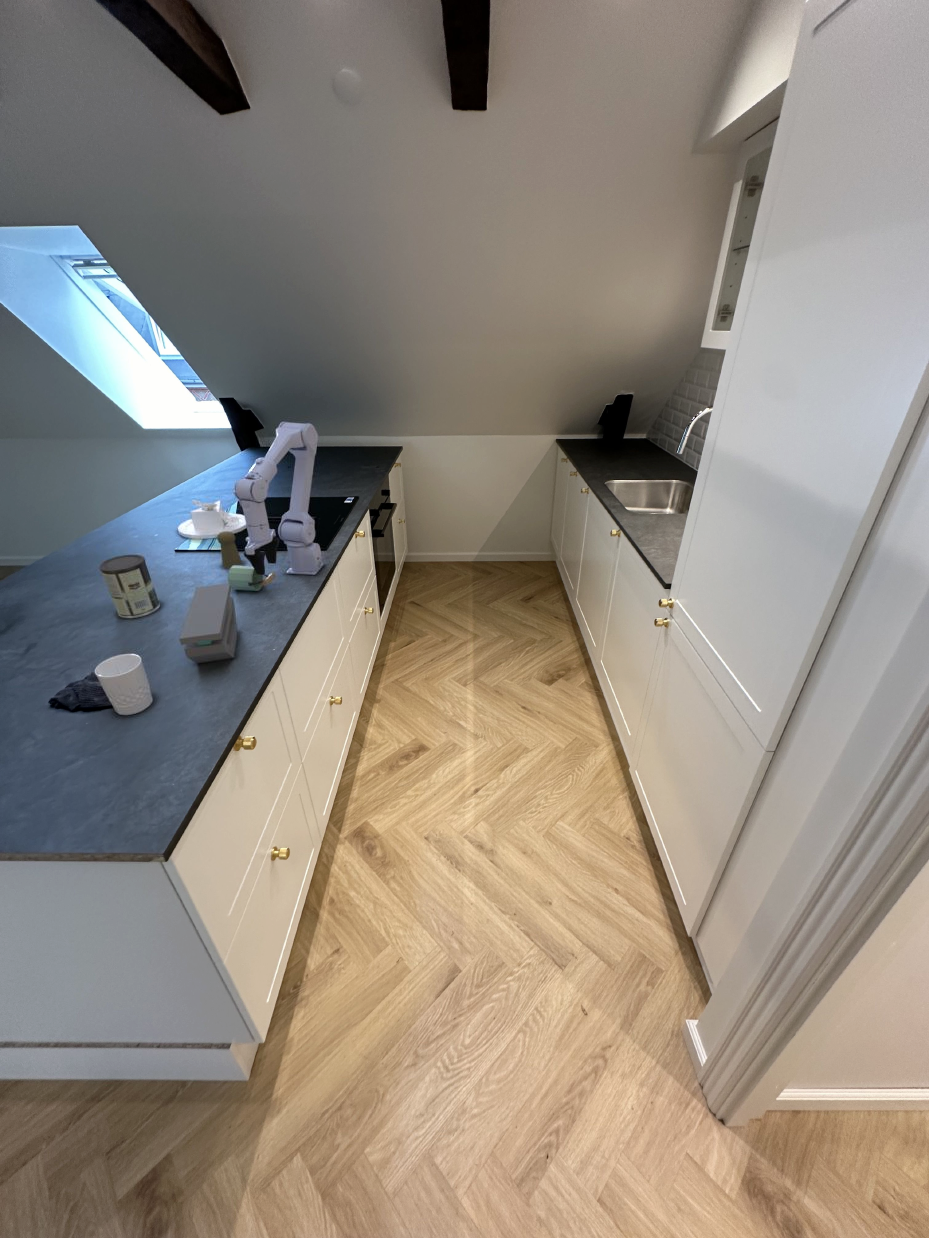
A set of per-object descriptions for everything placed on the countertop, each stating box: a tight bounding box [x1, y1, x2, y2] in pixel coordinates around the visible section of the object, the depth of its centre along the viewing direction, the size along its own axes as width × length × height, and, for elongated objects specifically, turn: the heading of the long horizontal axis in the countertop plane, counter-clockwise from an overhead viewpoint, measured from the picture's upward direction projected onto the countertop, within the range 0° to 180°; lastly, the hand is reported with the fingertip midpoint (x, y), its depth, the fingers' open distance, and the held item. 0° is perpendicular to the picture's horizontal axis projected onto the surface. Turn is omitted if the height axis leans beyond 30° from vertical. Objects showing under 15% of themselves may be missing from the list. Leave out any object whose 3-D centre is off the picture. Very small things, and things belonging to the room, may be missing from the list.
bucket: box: [227, 565, 276, 592], centre depth 149 cm, size 7×8×11 cm
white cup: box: [94, 653, 154, 716], centre depth 102 cm, size 8×8×10 cm
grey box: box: [178, 582, 238, 664], centre depth 121 cm, size 25×8×11 cm, turn 17°
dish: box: [177, 499, 247, 540], centre depth 193 cm, size 25×25×11 cm
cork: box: [216, 531, 244, 570], centre depth 163 cm, size 6×6×11 cm
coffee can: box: [98, 554, 161, 619], centre depth 136 cm, size 10×10×14 cm
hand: (266, 568), depth 146 cm, fingers open, 7 cm apart
